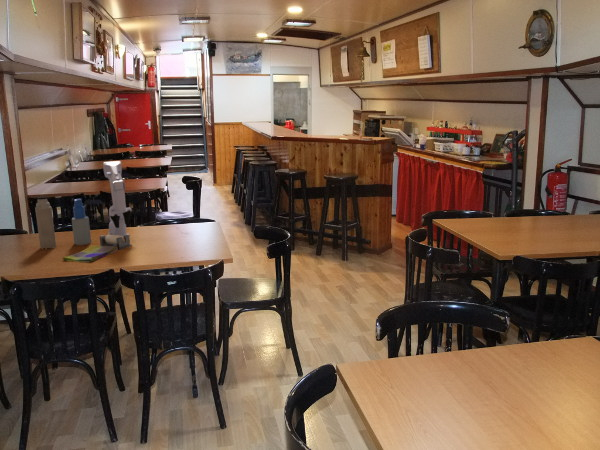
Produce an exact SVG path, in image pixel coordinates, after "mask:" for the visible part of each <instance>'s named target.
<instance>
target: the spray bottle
mask: <svg viewBox="0 0 600 450" xmlns="http://www.w3.org/2000/svg"><path fill="white" fill-rule="evenodd" d="M73 201H74V204H73V207H72V209H73V211H72V212H73V217H72V218H71V225H72V226H71V228H72V235H73V242H74V245H75V244H76V245H75V246H85V245H89V244H91V243H92V239H91V238H92V237H91V236H92V235H91V227H90V226H91V225H90V220H89V219H90V218H89V216H87V215H86V207H85V205H84V204H83V202H82V201H83V200H82V198H76V199H74V200H73Z"/></svg>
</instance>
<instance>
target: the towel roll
mask: <svg viewBox="0 0 600 450" xmlns="http://www.w3.org/2000/svg"><path fill="white" fill-rule="evenodd" d="M107 234H108V235H107ZM107 234H106V235H105V241H106V243H108V244H117V240H116V238H119V237H122V241H123V242H125V239H124V237H123V236H119V235H110V234H109V233H107Z"/></svg>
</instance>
